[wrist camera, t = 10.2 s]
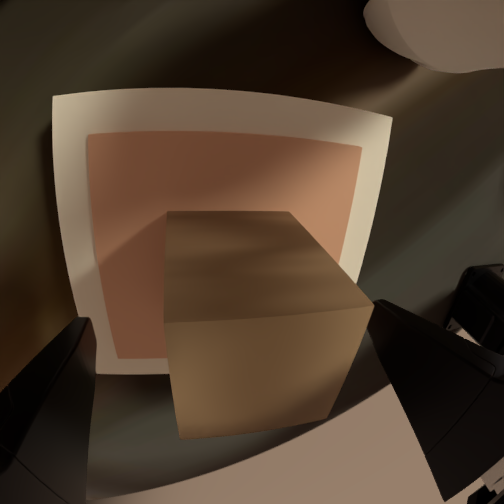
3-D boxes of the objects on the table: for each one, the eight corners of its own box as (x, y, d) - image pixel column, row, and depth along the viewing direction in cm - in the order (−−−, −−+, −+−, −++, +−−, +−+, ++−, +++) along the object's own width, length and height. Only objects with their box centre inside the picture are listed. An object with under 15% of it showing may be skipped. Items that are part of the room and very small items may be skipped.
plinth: (358, 111, 14) (396, 118, 11) (314, 326, 19) (334, 360, 17) (76, 96, 10) (49, 96, 8) (103, 338, 16) (96, 377, 14)
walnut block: (289, 211, 12) (374, 305, 7) (274, 308, 14) (326, 418, 9) (167, 211, 11) (163, 322, 6) (171, 313, 13) (180, 439, 8)
